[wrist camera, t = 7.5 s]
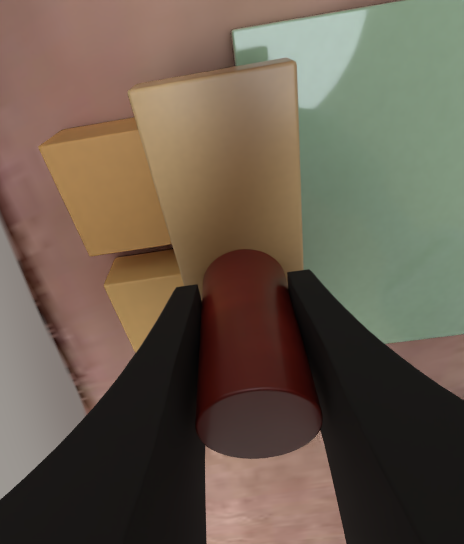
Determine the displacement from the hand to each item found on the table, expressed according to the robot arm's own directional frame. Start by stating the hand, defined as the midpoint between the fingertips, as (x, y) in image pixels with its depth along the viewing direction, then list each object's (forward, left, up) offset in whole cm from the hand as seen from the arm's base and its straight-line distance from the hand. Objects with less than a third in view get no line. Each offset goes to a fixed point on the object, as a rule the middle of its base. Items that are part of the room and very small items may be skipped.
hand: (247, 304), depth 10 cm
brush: (0, 0, -4) cm, 4 cm away
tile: (-1, -6, -5) cm, 8 cm away
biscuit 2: (-3, +3, -5) cm, 7 cm away
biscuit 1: (+2, +3, -5) cm, 7 cm away
